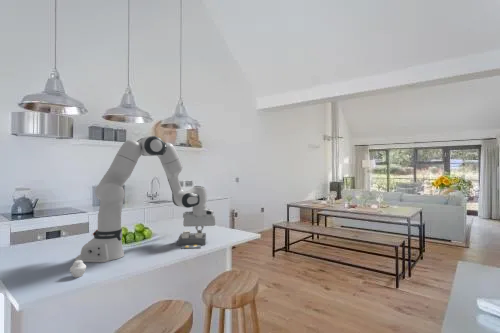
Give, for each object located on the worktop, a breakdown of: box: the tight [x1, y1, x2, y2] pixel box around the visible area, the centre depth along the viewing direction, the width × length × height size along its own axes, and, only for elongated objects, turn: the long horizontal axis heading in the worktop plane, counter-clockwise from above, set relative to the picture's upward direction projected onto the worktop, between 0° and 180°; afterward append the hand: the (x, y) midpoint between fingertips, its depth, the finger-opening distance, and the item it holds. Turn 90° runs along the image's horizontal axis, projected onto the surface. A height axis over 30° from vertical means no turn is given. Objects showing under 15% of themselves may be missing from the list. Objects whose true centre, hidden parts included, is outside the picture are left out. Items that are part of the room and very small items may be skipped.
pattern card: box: [180, 245, 202, 250], centre depth 169 cm, size 11×5×1 cm, turn 97°
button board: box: [177, 232, 207, 247], centre depth 180 cm, size 16×14×4 cm
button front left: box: [182, 232, 189, 239], centre depth 176 cm, size 4×4×3 cm
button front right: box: [195, 232, 202, 238], centre depth 177 cm, size 4×4×3 cm
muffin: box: [69, 260, 87, 278], centre depth 125 cm, size 6×6×7 cm
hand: (199, 233), depth 184 cm, fingers closed
